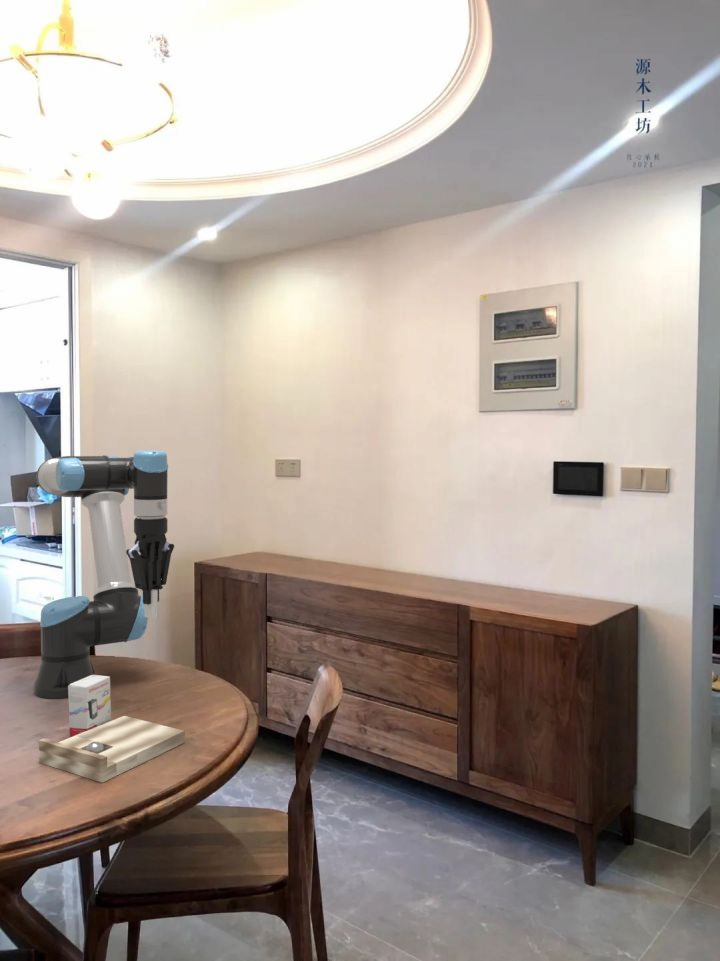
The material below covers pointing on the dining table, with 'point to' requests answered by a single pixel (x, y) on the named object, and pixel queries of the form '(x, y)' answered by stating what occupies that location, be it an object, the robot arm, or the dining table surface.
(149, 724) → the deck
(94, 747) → the ball
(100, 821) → the dining table surface
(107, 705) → the ink box
